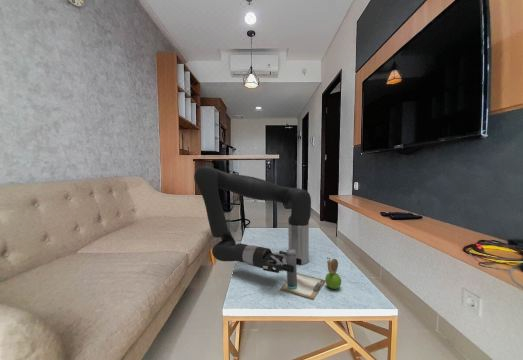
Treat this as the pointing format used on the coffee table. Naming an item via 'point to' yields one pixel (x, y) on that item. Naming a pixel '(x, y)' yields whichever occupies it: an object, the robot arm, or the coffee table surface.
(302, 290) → the clipboard
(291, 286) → the cylinder
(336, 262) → the snail figurine
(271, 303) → the coffee table surface
